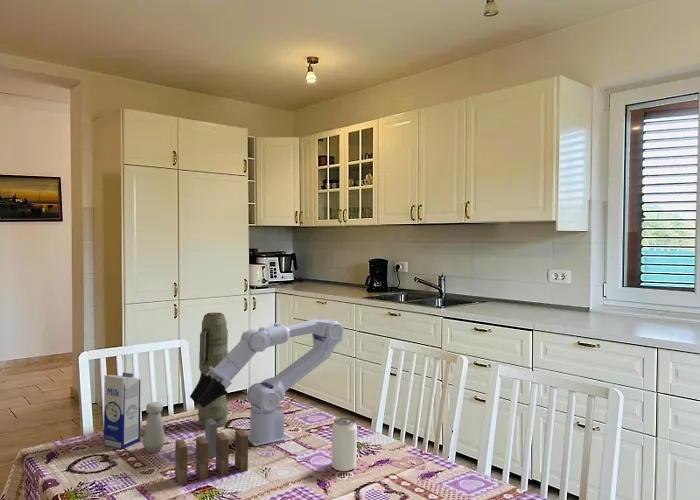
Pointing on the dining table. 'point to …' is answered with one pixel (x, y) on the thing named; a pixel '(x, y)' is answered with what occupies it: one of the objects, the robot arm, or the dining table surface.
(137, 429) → the milk carton
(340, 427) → the can
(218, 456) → the domino
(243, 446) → the domino
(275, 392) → the robot arm
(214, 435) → the domino
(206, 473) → the domino
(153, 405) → the salt shaker
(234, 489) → the dining table surface
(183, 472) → the domino
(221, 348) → the thermos
